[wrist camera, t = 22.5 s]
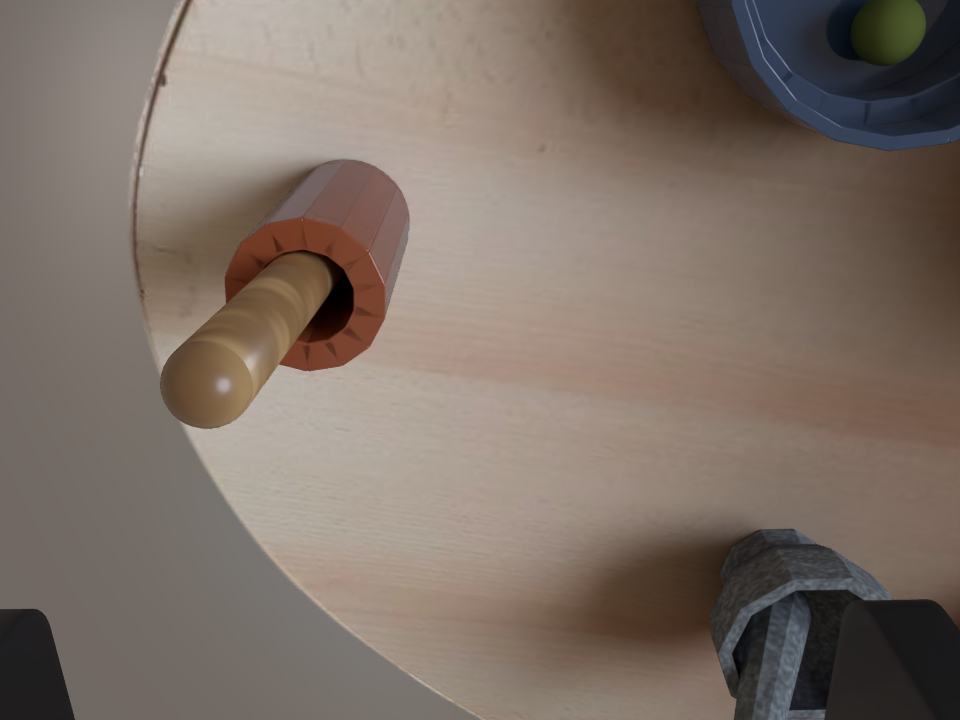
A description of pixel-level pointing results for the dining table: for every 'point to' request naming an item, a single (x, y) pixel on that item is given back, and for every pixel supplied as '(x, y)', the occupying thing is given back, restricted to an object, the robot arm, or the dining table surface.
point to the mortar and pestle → (783, 622)
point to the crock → (334, 255)
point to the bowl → (841, 70)
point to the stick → (246, 340)
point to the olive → (888, 31)
